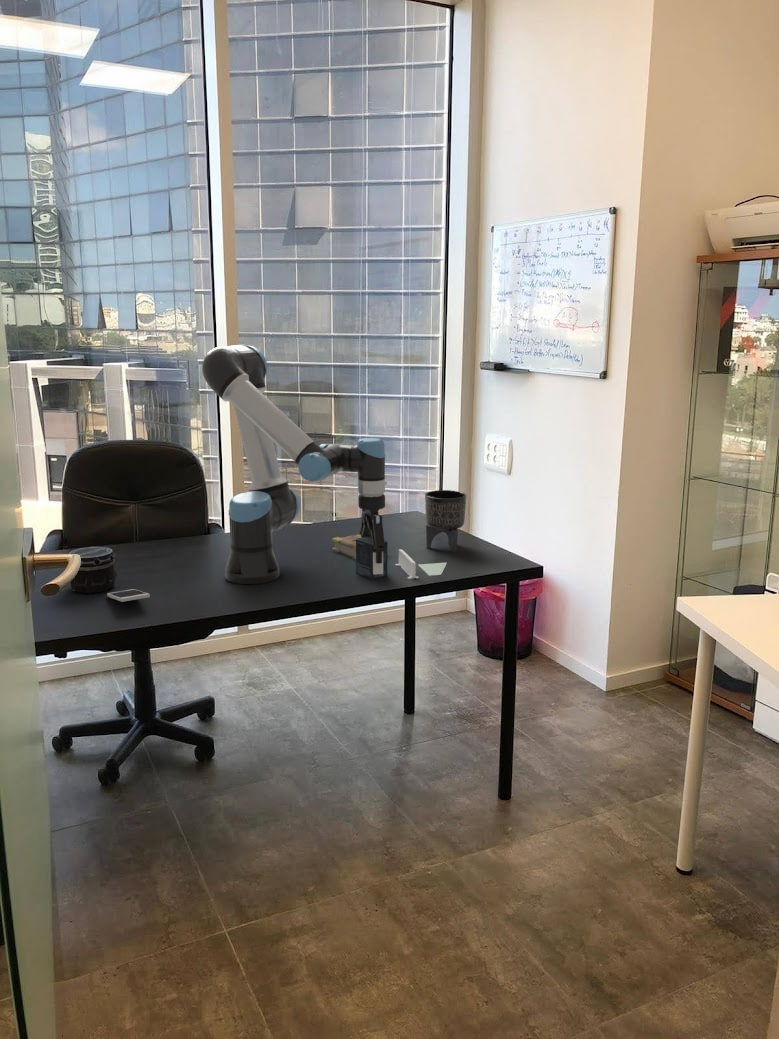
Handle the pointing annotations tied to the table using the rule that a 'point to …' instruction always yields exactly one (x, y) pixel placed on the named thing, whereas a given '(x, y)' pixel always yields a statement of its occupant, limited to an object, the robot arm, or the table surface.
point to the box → (368, 558)
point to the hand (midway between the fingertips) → (372, 567)
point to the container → (94, 570)
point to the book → (346, 545)
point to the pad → (433, 568)
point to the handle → (407, 564)
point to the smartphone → (128, 595)
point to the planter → (444, 515)
